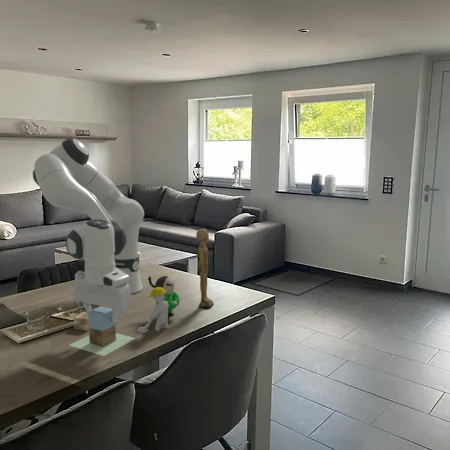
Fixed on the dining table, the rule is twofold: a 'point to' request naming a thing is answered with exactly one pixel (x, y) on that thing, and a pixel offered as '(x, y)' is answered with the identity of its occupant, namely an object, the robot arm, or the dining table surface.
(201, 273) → the sculpture
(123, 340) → the plate
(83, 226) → the robot arm
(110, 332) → the walnut brick
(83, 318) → the oak brick
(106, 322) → the blue brick
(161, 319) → the figurine
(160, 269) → the dining table surface
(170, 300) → the toy
